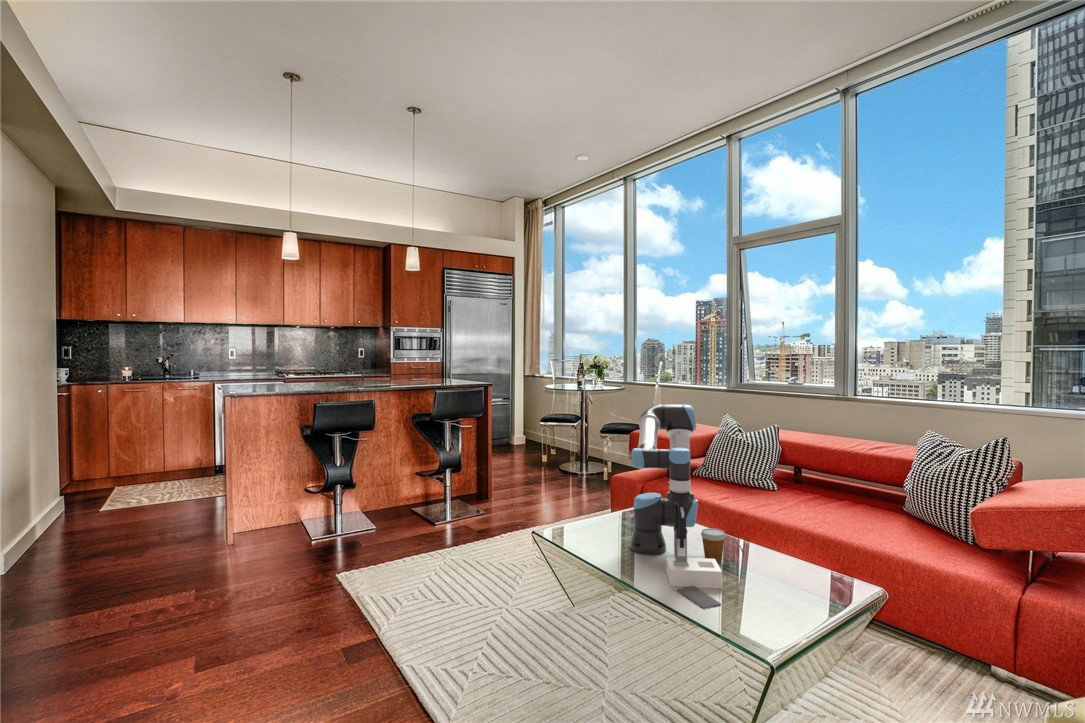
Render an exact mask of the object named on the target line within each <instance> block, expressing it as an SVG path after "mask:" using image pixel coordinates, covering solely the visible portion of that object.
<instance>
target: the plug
mask: <svg viewBox="0 0 1085 723" xmlns="http://www.w3.org/2000/svg"><path fill="white" fill-rule="evenodd" d="M676 537H678V526H673V538H674V539H673V541H674V542H673V544H674V547H673V548H674V549H673V550H674V551H673V552H674V555H673V557H674V558H675V561H676V562H679V563H687V558H688V527H686V539H685V556H678V539H676Z"/></svg>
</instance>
